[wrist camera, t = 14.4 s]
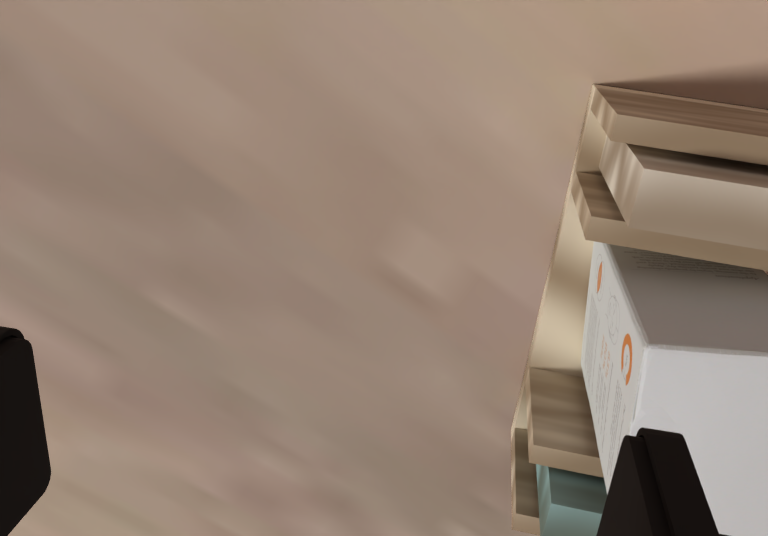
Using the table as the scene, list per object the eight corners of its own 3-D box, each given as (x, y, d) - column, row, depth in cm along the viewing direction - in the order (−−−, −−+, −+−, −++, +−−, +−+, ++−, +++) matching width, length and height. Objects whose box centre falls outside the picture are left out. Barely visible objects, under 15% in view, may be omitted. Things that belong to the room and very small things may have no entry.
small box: (703, 373, 37) (796, 561, 25) (578, 364, 38) (610, 541, 26) (731, 226, 34) (852, 360, 22) (594, 219, 35) (639, 345, 23)
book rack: (592, 83, 34) (625, 124, 24) (811, 116, 33) (933, 171, 23) (511, 429, 42) (512, 560, 32) (685, 464, 41) (738, 609, 31)
